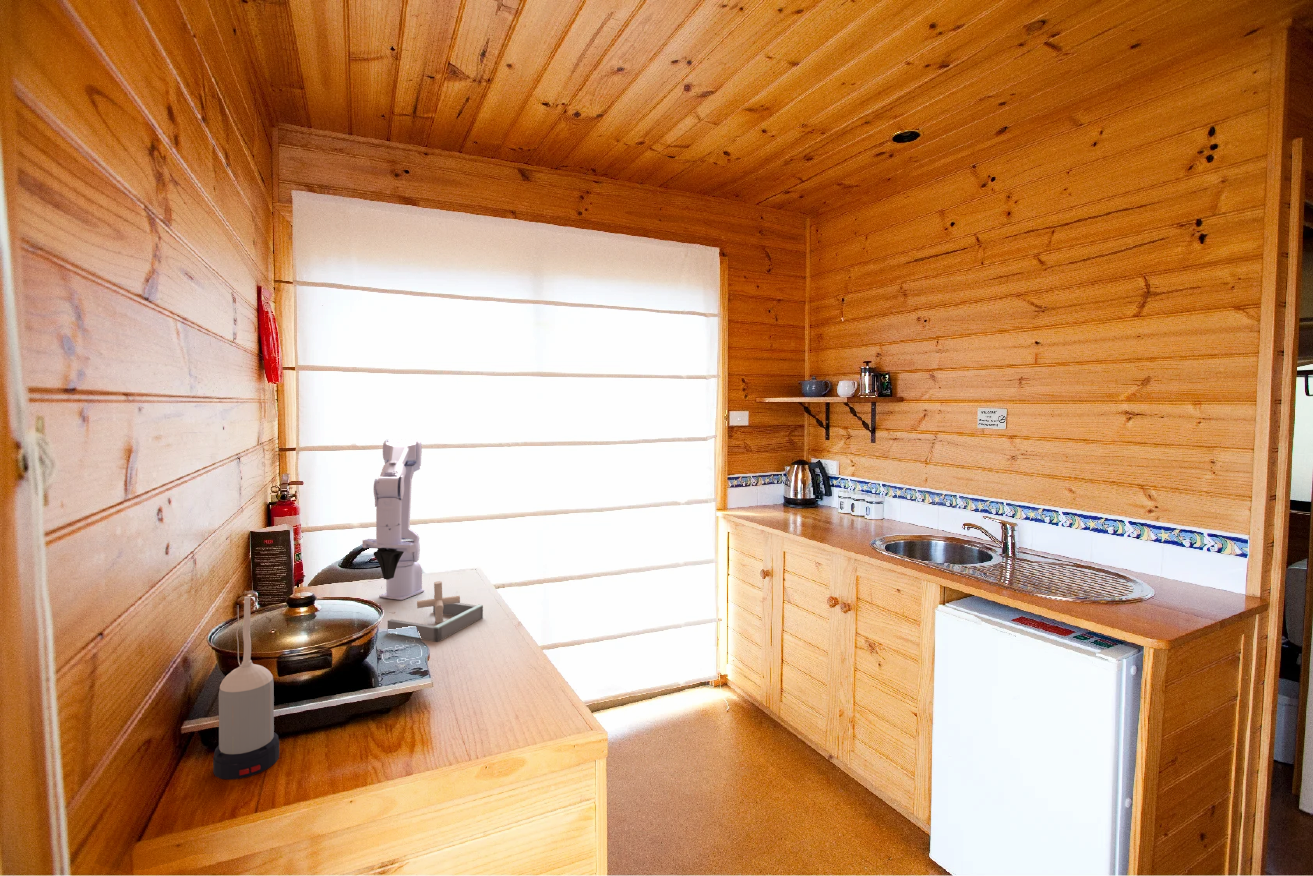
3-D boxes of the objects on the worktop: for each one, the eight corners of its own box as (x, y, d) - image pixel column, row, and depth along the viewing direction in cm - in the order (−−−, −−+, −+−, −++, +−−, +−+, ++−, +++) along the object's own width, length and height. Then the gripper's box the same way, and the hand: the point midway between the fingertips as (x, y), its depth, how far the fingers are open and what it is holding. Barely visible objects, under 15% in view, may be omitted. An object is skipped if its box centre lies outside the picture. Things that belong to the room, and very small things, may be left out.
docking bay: (387, 633, 143) (387, 619, 143) (436, 610, 159) (436, 598, 159) (438, 641, 138) (438, 627, 138) (482, 617, 155) (482, 605, 155)
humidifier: (243, 784, 85) (242, 608, 84) (199, 773, 87) (197, 602, 86) (292, 753, 93) (292, 591, 92) (250, 744, 95) (249, 586, 94)
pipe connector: (461, 625, 148) (460, 585, 148) (418, 632, 145) (416, 591, 144) (458, 612, 158) (457, 574, 157) (417, 617, 154) (416, 579, 153)
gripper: (353, 524, 150) (353, 579, 150) (401, 529, 145) (401, 585, 146) (374, 520, 156) (374, 572, 157) (421, 524, 152) (421, 578, 152)
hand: (388, 578), depth 152 cm, fingers closed
